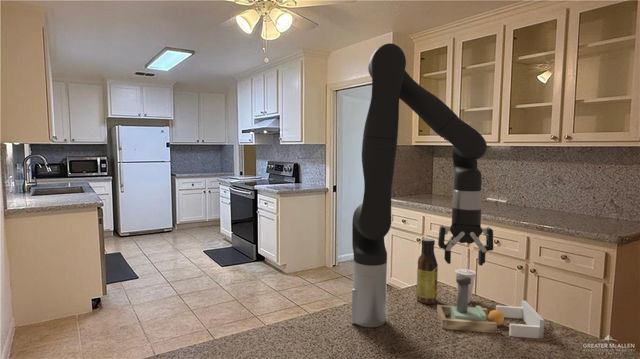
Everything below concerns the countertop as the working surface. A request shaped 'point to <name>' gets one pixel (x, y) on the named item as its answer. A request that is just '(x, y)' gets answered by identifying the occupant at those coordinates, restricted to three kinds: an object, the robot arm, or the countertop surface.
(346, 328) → the countertop surface
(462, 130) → the robot arm
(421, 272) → the sauce bottle
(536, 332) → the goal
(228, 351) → the countertop surface
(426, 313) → the countertop surface
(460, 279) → the striker
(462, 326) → the wooden rectangular frame
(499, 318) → the ball
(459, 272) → the smoothie
